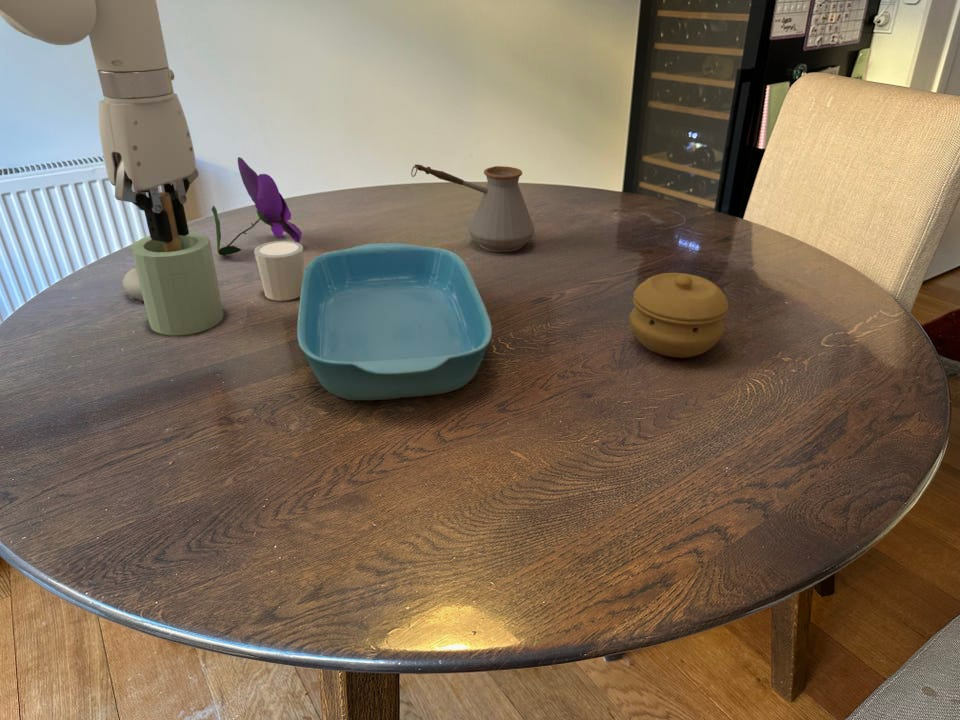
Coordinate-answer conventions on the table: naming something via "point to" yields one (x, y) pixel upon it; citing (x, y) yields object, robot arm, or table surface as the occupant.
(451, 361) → the casserole dish
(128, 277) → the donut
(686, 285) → the pot
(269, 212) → the flower
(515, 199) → the coffee pot
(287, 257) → the white cup
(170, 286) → the jar
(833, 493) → the table surface
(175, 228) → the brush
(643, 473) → the table surface
